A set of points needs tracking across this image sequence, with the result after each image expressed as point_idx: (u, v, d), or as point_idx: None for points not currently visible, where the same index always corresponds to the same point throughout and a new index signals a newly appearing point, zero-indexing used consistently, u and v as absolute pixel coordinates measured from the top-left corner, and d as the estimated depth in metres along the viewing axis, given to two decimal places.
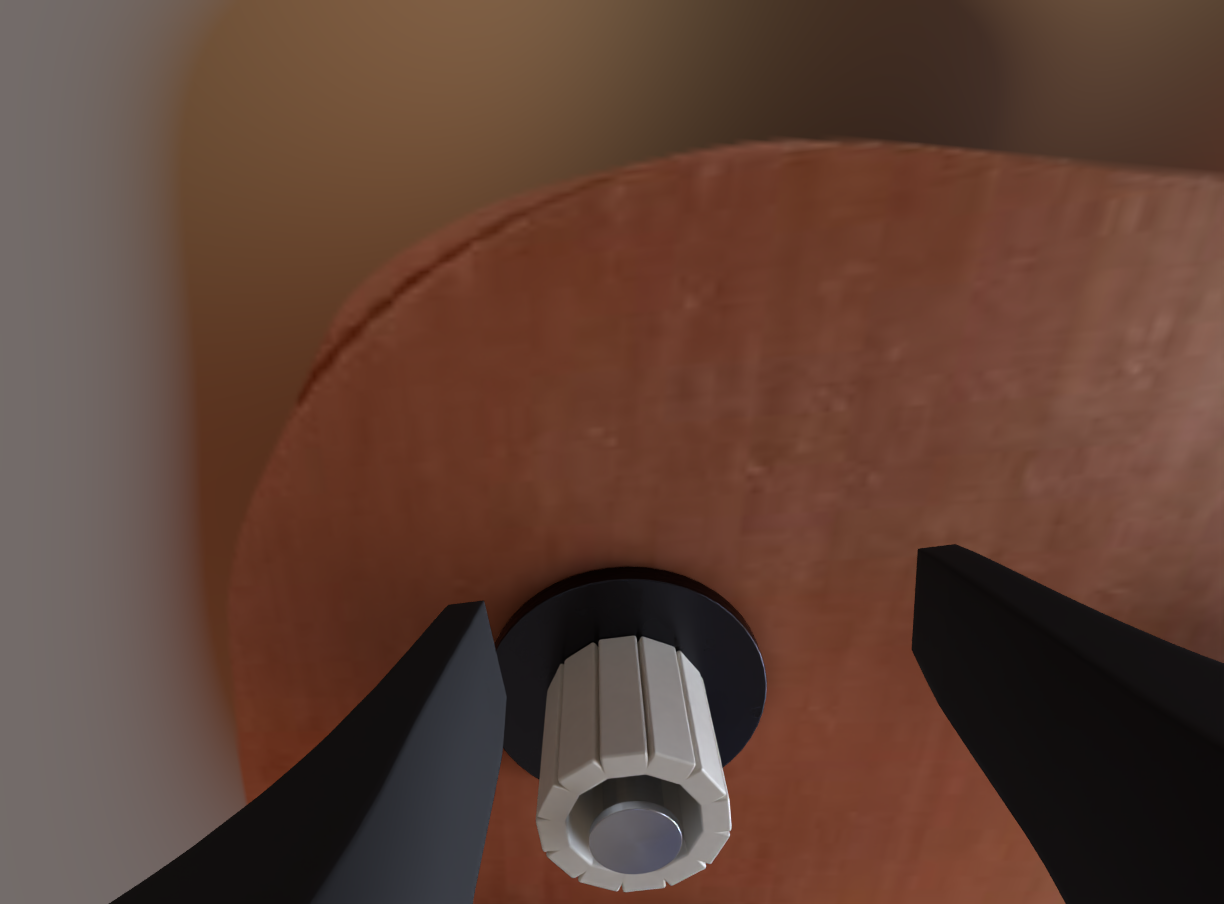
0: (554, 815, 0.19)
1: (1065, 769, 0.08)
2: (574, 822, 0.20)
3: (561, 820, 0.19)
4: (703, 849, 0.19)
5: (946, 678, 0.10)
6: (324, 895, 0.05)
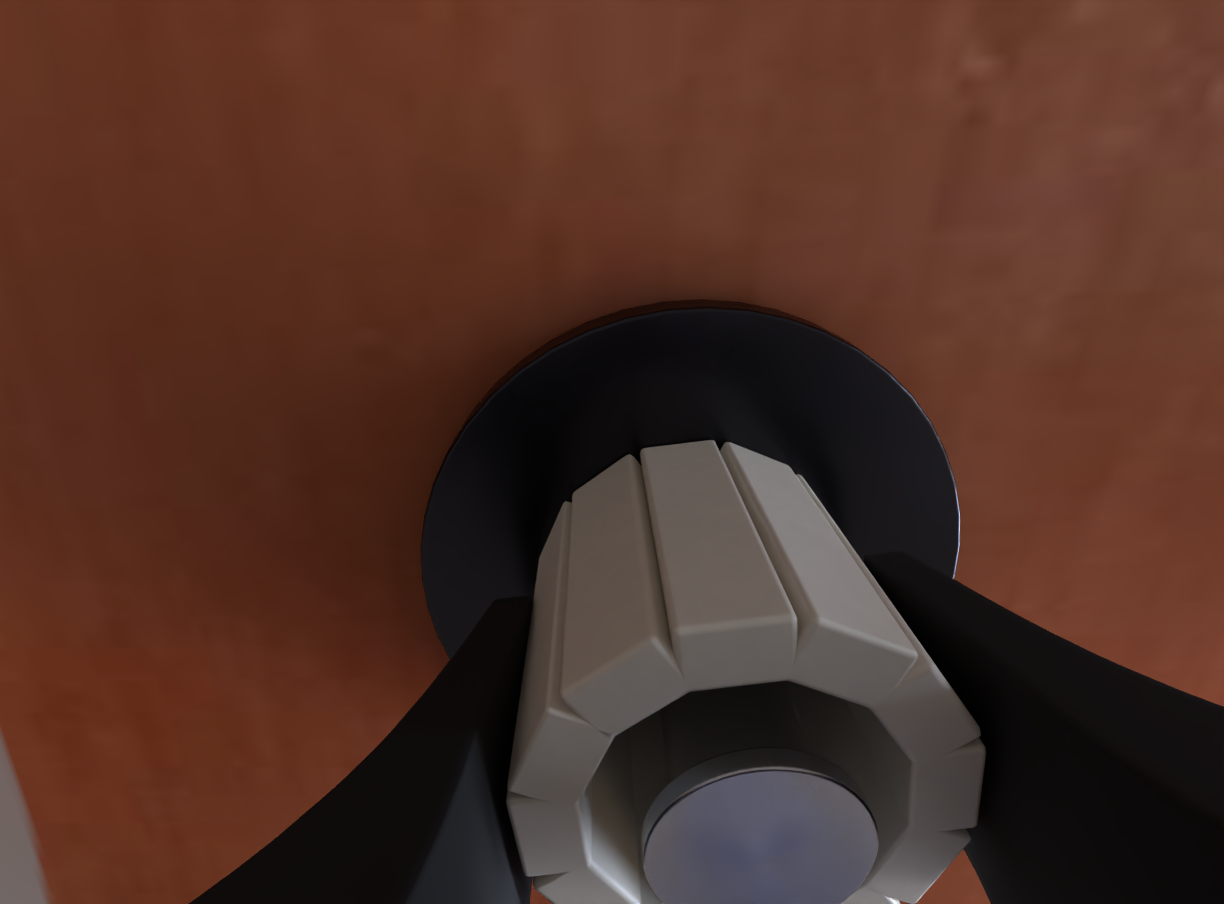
0: (551, 788, 0.07)
1: (990, 777, 0.08)
2: (597, 808, 0.09)
3: (569, 800, 0.08)
4: (904, 870, 0.08)
5: None
6: (421, 884, 0.05)
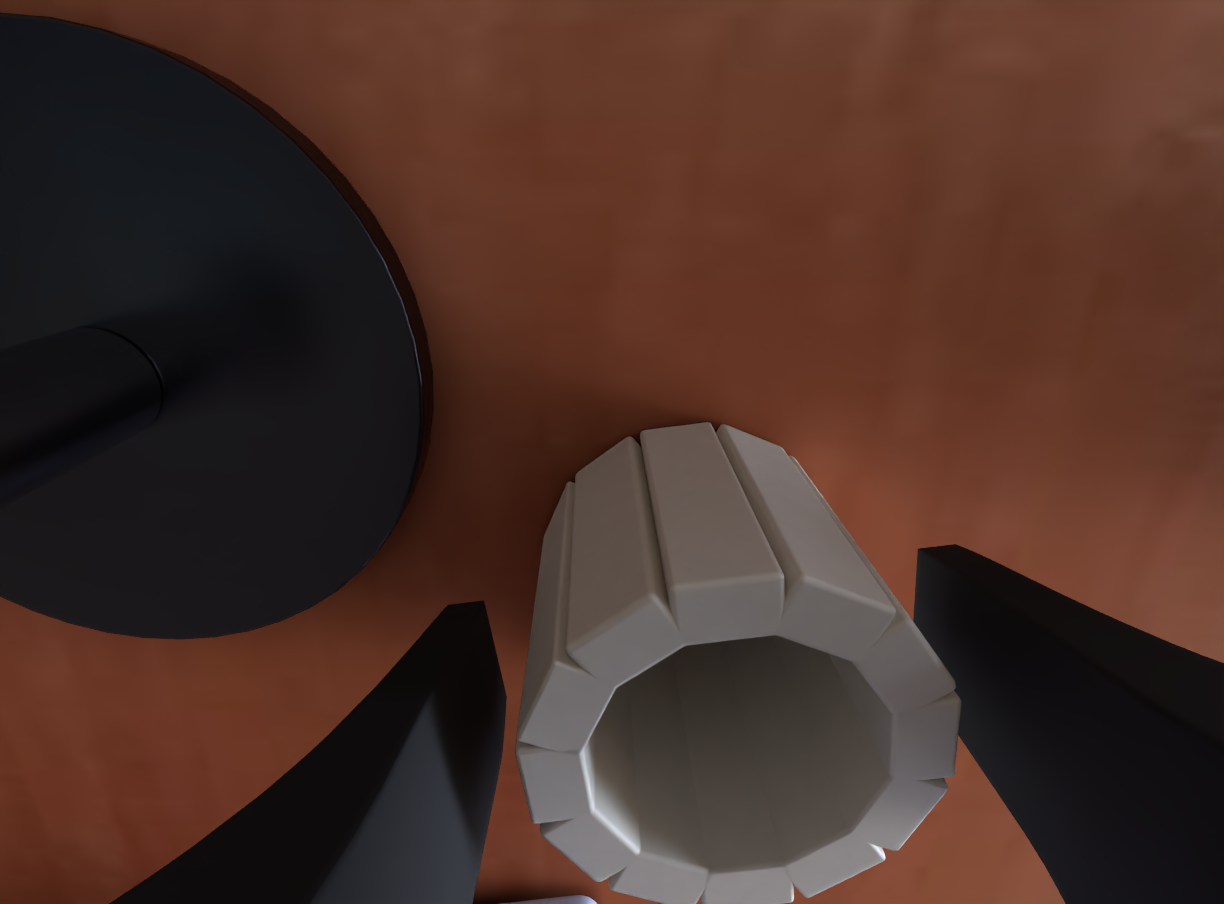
0: (557, 738, 0.08)
1: (1065, 769, 0.08)
2: (599, 763, 0.09)
3: (574, 750, 0.08)
4: (886, 819, 0.09)
5: None
6: (324, 895, 0.05)
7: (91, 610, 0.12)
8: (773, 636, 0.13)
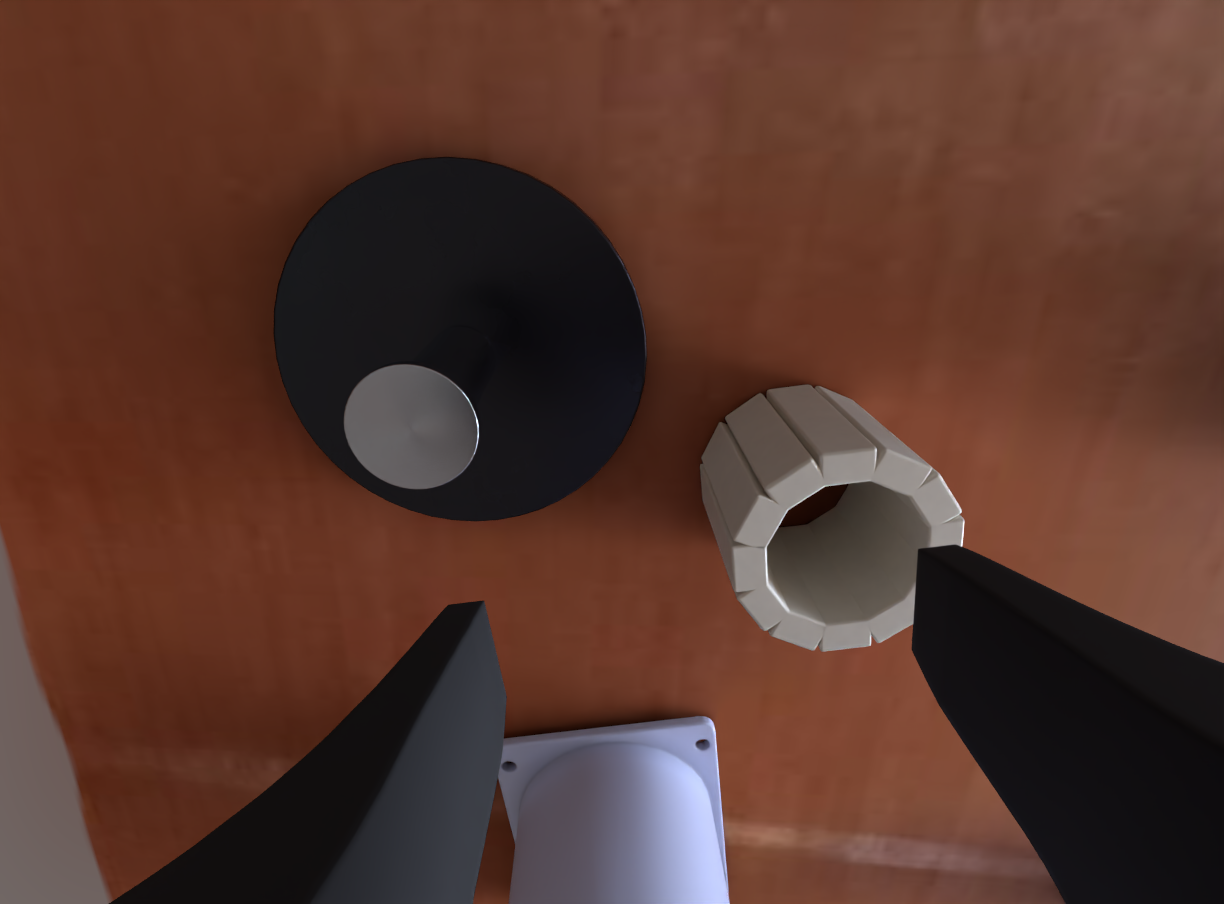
0: (754, 539, 0.16)
1: (1065, 769, 0.08)
2: None
3: (762, 546, 0.16)
4: None
5: (946, 678, 0.10)
6: (324, 895, 0.05)
7: (425, 501, 0.20)
8: (846, 520, 0.20)
